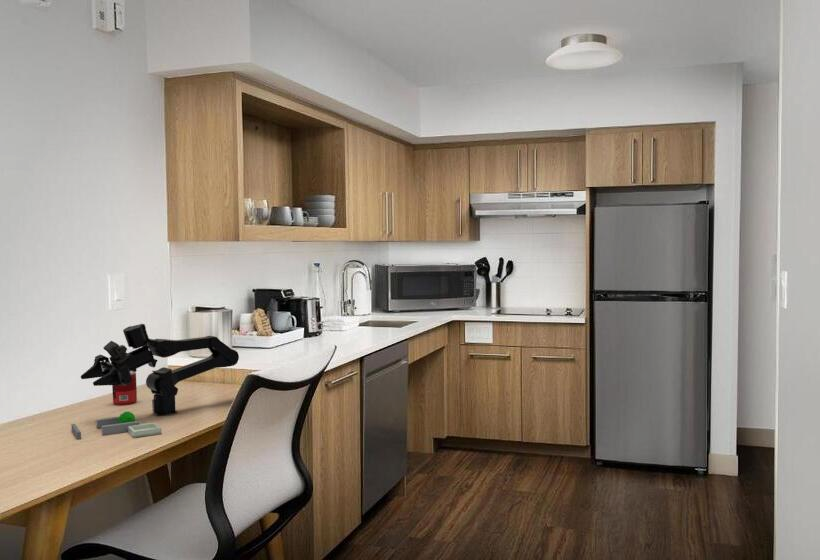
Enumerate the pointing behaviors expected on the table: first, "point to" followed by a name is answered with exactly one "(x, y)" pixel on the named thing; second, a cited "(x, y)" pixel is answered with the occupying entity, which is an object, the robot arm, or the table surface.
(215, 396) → the table surface
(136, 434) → the dish
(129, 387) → the canned food
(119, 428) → the channel
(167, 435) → the table surface
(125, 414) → the polyhedron
